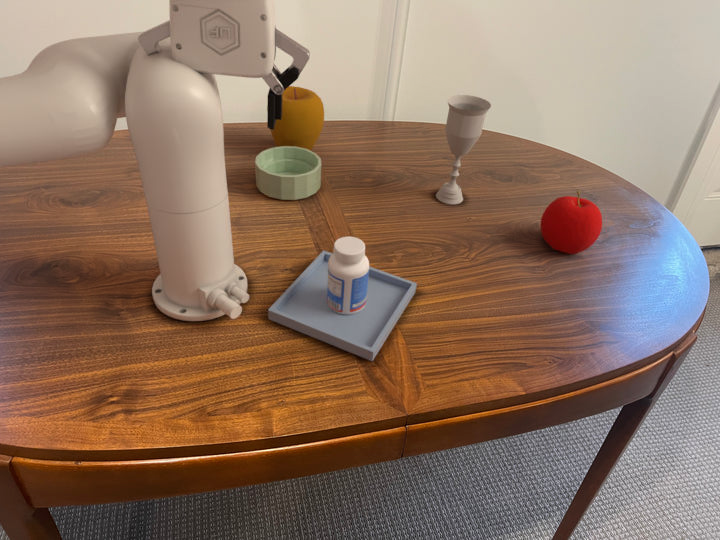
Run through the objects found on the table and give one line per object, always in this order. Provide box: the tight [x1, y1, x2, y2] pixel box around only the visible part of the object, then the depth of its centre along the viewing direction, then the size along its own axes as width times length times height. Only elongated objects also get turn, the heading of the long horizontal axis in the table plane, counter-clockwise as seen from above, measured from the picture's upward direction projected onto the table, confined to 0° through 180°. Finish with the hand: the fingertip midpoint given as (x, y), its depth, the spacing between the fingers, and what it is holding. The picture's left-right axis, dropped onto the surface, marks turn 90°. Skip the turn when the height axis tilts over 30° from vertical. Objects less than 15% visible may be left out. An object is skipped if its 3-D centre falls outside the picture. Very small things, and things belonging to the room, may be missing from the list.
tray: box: [267, 250, 418, 362], centre depth 74 cm, size 15×15×2 cm
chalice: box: [435, 94, 492, 205], centre depth 94 cm, size 7×7×18 cm
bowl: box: [254, 146, 322, 201], centre depth 97 cm, size 12×12×5 cm
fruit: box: [540, 190, 603, 255], centre depth 87 cm, size 9×9×10 cm
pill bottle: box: [327, 236, 370, 315], centre depth 71 cm, size 6×5×10 cm
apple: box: [266, 85, 325, 151], centre depth 105 cm, size 11×11×13 cm
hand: (229, 120), depth 60 cm, fingers open, 9 cm apart
